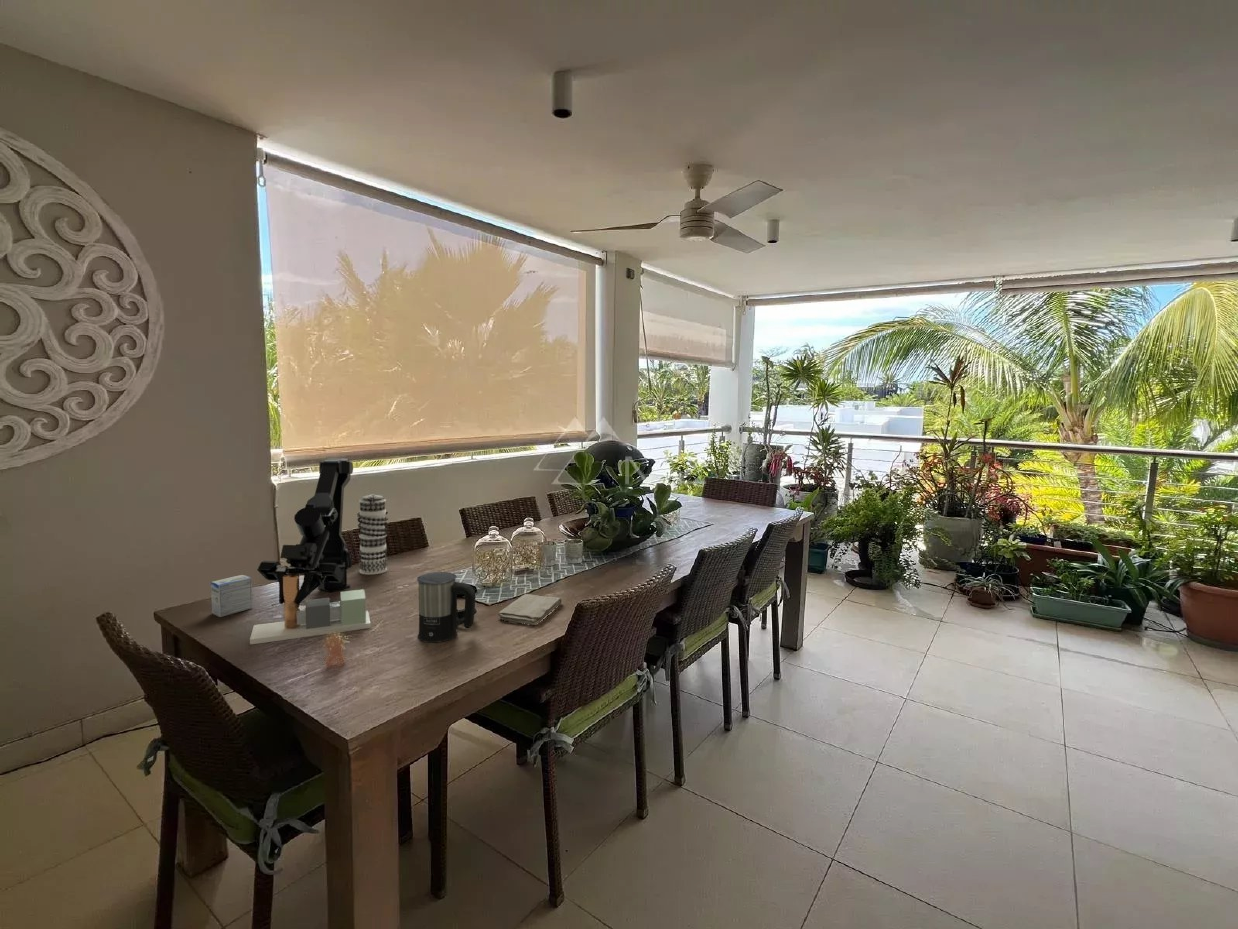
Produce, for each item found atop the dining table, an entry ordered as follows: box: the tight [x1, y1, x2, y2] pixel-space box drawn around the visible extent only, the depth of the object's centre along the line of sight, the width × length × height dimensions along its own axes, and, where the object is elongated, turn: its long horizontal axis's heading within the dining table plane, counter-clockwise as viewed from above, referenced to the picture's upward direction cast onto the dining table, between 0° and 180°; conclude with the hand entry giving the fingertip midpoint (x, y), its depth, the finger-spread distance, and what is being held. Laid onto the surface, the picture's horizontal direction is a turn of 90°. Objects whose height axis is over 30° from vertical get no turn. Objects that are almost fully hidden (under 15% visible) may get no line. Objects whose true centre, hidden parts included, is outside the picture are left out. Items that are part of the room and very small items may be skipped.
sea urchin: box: [314, 630, 357, 669], centre depth 122 cm, size 12×12×8 cm
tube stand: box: [249, 597, 372, 645], centre depth 140 cm, size 26×9×7 cm, turn 117°
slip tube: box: [283, 574, 341, 628], centre depth 140 cm, size 16×3×12 cm, turn 117°
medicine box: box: [210, 574, 253, 618], centre depth 149 cm, size 8×4×9 cm, turn 149°
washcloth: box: [497, 593, 563, 626], centre depth 157 cm, size 12×18×3 cm, turn 165°
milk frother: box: [416, 571, 477, 643], centre depth 142 cm, size 14×16×15 cm
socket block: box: [339, 588, 367, 625], centre depth 144 cm, size 6×7×6 cm
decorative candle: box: [356, 494, 389, 575], centre depth 186 cm, size 9×9×25 cm
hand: (288, 603), depth 136 cm, fingers closed on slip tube, 3 cm apart
